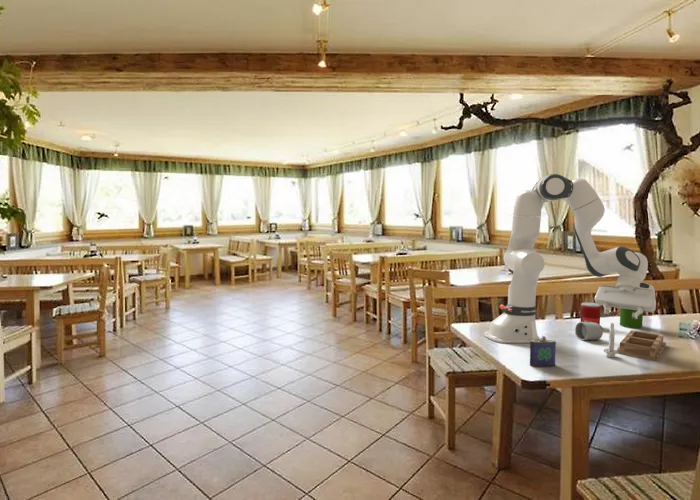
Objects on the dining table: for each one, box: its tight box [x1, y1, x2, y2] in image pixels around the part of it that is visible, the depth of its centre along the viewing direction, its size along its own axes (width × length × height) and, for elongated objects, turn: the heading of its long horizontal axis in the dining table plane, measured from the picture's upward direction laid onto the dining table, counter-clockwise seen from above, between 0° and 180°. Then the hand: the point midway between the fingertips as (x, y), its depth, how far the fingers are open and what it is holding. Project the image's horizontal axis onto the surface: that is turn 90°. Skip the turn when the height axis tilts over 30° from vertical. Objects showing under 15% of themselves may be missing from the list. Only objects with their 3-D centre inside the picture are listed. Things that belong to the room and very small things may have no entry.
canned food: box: [580, 301, 602, 326], centre depth 197 cm, size 8×8×11 cm
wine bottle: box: [619, 308, 644, 329], centre depth 196 cm, size 9×9×32 cm
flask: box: [529, 335, 557, 368], centre depth 146 cm, size 9×3×11 cm, turn 95°
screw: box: [603, 322, 620, 359], centre depth 155 cm, size 13×5×5 cm
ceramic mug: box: [574, 321, 604, 341], centre depth 178 cm, size 11×8×8 cm
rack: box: [616, 329, 667, 362], centre depth 164 cm, size 24×13×4 cm, turn 137°
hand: (619, 315), depth 160 cm, fingers open, 8 cm apart
